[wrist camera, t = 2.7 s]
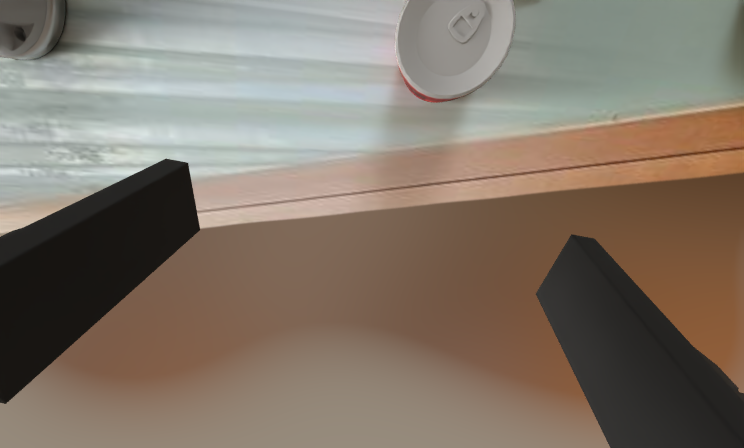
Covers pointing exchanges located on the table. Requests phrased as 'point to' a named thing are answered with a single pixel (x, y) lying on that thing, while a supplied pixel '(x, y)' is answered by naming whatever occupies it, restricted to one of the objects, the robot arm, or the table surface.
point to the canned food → (452, 45)
